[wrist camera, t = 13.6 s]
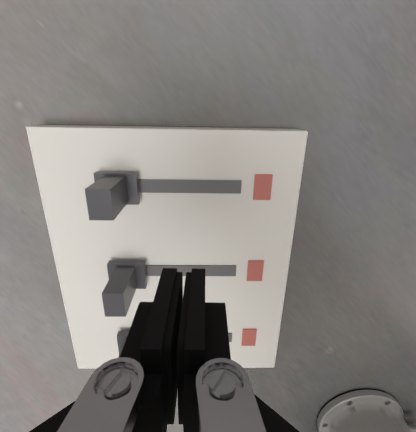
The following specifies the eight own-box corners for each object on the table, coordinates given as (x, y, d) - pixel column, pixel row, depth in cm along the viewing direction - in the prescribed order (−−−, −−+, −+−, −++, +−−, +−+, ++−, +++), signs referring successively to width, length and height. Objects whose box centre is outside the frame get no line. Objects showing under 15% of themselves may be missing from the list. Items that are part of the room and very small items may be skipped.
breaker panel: (296, 128, 26) (308, 131, 23) (268, 348, 37) (274, 369, 34) (45, 124, 26) (24, 127, 23) (87, 348, 36) (77, 370, 33)
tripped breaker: (137, 171, 24) (122, 186, 20) (140, 201, 25) (126, 223, 21) (96, 171, 24) (71, 186, 19) (100, 201, 25) (77, 222, 20)
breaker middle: (145, 260, 27) (133, 291, 23) (147, 284, 28) (136, 318, 24) (109, 260, 27) (90, 291, 23) (112, 284, 28) (94, 318, 24)
